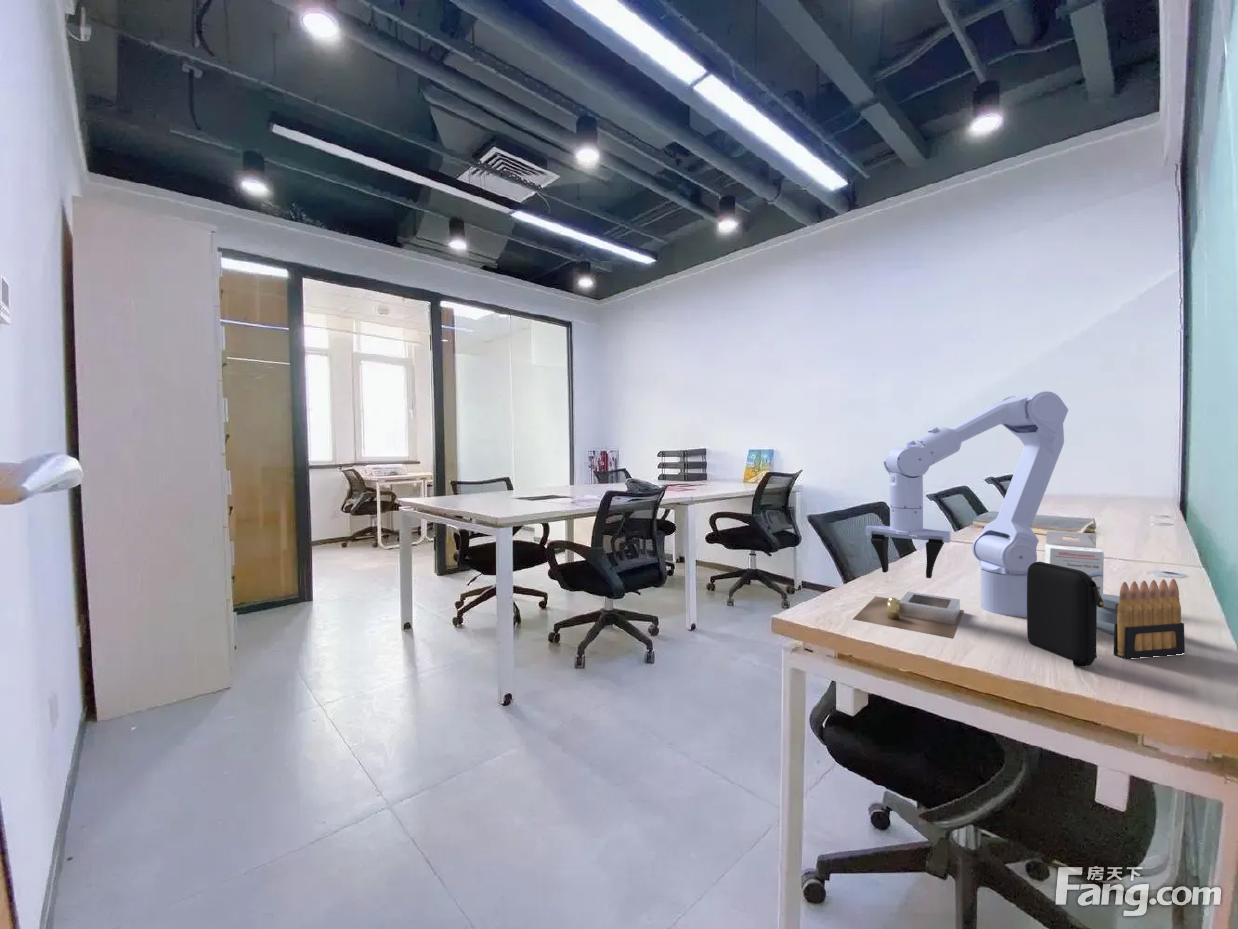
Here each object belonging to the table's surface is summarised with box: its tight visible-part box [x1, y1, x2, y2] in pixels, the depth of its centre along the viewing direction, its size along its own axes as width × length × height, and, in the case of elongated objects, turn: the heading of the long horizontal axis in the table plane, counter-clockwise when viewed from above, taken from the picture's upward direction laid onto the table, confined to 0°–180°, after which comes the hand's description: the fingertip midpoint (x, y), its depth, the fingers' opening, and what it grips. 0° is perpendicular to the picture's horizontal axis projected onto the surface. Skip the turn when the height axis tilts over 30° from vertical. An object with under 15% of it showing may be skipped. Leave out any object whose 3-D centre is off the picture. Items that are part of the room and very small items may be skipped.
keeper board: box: [852, 595, 965, 639], centre depth 95 cm, size 16×18×1 cm
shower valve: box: [1097, 593, 1120, 636], centre depth 89 cm, size 12×6×15 cm
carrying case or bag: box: [1026, 561, 1103, 668], centre depth 76 cm, size 11×3×15 cm, turn 9°
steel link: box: [899, 591, 961, 625], centre depth 95 cm, size 9×9×2 cm
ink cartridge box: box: [1044, 530, 1105, 607], centre depth 102 cm, size 9×5×15 cm, turn 58°
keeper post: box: [887, 597, 899, 620], centre depth 93 cm, size 2×2×4 cm
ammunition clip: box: [1113, 578, 1186, 660], centre depth 77 cm, size 11×2×12 cm, turn 96°
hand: (906, 574), depth 97 cm, fingers open, 7 cm apart
